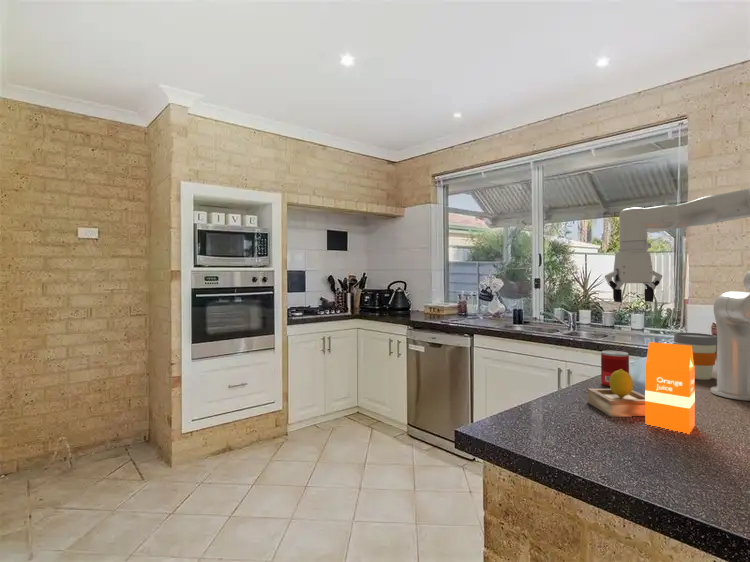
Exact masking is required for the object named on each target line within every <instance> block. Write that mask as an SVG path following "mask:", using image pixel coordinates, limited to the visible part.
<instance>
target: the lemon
mask: <svg viewBox="0 0 750 562" xmlns="http://www.w3.org/2000/svg"><path fill="white" fill-rule="evenodd" d="M609 383H610V387H609V389H611V390H612V392H613V393H614V394H616V395H618V396H619V397H620V398H623V397H624V396H627V395H629V394H630V393H631V391H632V390H633V388H634V382H633V379H632V376H631V374H630V373H629V374H628V373H627V372H625V371H623V370H622V369H619V370H617V371H615V372H613V373H612V375H611V377H610V382H609Z"/></svg>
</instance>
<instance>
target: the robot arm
mask: <svg viewBox="0 0 750 562" xmlns="http://www.w3.org/2000/svg"><path fill="white" fill-rule="evenodd" d="M618 217H619V223H618V225H619V229H618V230H619V242H618V243H619V252H618V251H617V252H616V254H615V258H614V262H613V263H614V265H613V271H611V272H609V273H607V274H605V275H604V278H605V281H606V283H607V285H608V286H609V287H610V288H611V289H612V298H613V302H614V303H621V302H622V301H623V293H622V292H623V290H622V289H621V287H622V286H623V285H624V284H642V285H643V286H644V287H645V288H644V301H645V302H647V303H648V302H649V303H653V302H654V298H655V297H654V295H655V289H656V288H657V286H658V285H660V282H661V280H662V278H663V275H662V274H660V273H658V272H657V271H654V269H653V263H652V257H651V253H650V251H648V249H650V248H651V247H652V244H651V243H649V241H648V233H650V234H653V233H660V232H664V231H665V232H666V231H671V230H677V229H682V228H689V227H695V226H697V227H699V226H706V225H711V224H712V225H713V224H717V223H724V222H729V221H735V220H739V219H747V218H750V188H744V189H739V190H735V191H729V192H724V193H718V194H712V195H706V196H704V197H700V198H696V199H695V200H691V201H688V202H685V203H680V204H676V205H672V206H671V205H659V206H652V207H645V208H644V207H630V208H629V207H628V208H624V209H622V210H621V211H620V212H619V216H618ZM653 277H654V279H653ZM742 282H743V287H744V288H745V289H746V290H747V291H746V290H745V291H743V290H731V291H726V292H723V293H721V294H719V296H717V298H716V299H715V301H714V303H713V314H714V320H715V324H716V336H717V345H716V352H717V354H716V386H711V387H710V392H711V394H713V395H716V396H719V397H722V398H726V399H732V400H736V401H737V400H738V401H747V402H748V401H749V402H750V269H749V270H748V271H747V272H746V273H745V274H744V278H743V281H742Z"/></svg>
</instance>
